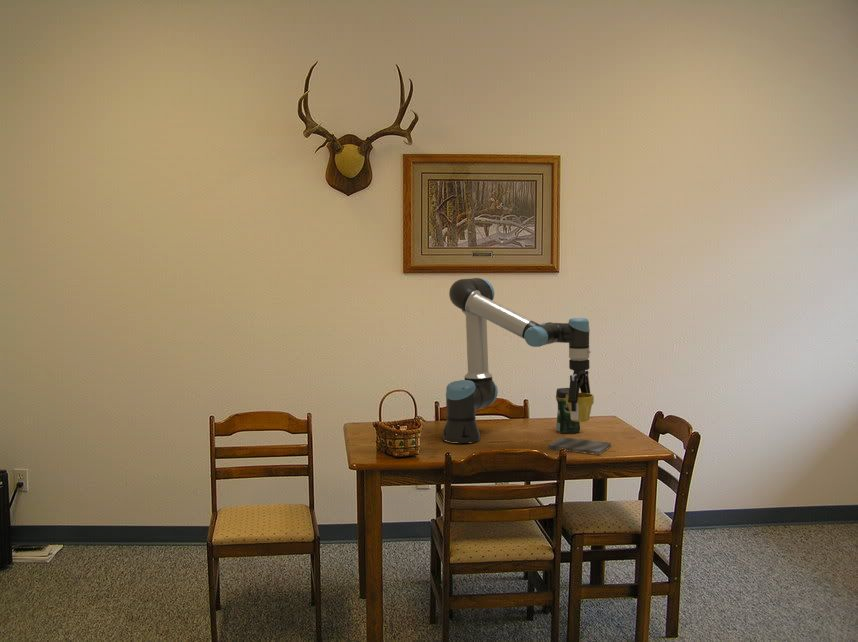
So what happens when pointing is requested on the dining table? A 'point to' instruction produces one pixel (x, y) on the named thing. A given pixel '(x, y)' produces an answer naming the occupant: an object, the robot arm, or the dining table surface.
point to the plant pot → (582, 406)
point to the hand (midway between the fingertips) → (579, 416)
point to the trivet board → (579, 445)
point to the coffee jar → (565, 414)
